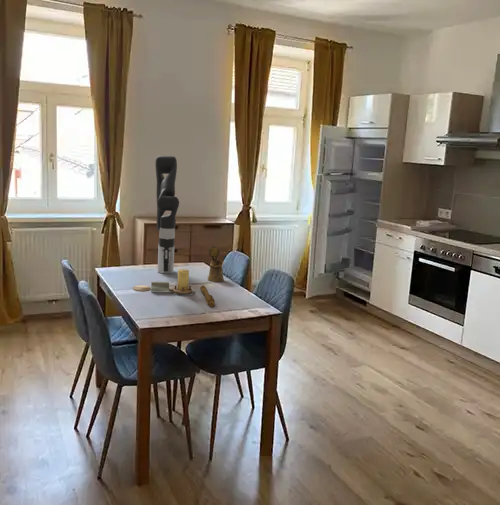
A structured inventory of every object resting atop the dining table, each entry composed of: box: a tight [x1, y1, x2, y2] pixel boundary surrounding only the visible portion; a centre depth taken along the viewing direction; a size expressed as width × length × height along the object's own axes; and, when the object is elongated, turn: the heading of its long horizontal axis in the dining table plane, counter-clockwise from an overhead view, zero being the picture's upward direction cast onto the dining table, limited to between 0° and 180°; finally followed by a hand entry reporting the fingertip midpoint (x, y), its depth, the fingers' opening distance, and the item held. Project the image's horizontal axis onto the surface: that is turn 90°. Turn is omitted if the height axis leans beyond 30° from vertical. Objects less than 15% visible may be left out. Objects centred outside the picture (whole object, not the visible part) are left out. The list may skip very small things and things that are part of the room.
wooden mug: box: [207, 245, 225, 283], centre depth 314 cm, size 9×14×18 cm, turn 18°
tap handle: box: [200, 285, 216, 308], centre depth 277 cm, size 3×3×30 cm
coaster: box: [132, 284, 151, 292], centre depth 286 cm, size 9×9×1 cm
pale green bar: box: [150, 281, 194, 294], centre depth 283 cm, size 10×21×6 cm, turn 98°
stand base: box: [169, 290, 196, 297], centre depth 285 cm, size 13×13×1 cm
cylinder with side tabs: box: [176, 268, 190, 291], centre depth 285 cm, size 11×6×10 cm, turn 8°
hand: (165, 271), depth 274 cm, fingers closed
